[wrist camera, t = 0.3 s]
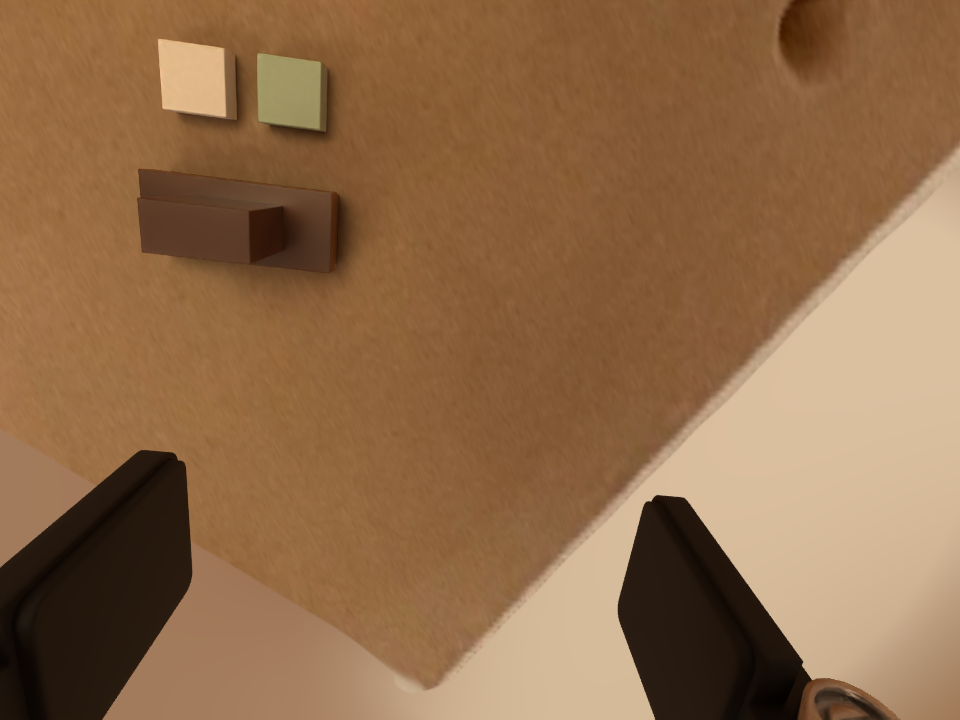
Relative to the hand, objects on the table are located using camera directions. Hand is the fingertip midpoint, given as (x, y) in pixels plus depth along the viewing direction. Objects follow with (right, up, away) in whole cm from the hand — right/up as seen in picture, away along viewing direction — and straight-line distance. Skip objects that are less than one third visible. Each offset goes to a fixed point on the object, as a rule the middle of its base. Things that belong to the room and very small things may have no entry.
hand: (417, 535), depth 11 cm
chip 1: (-17, +22, +24) cm, 37 cm away
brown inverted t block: (-15, +14, +27) cm, 34 cm away
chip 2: (-11, +21, +25) cm, 34 cm away
